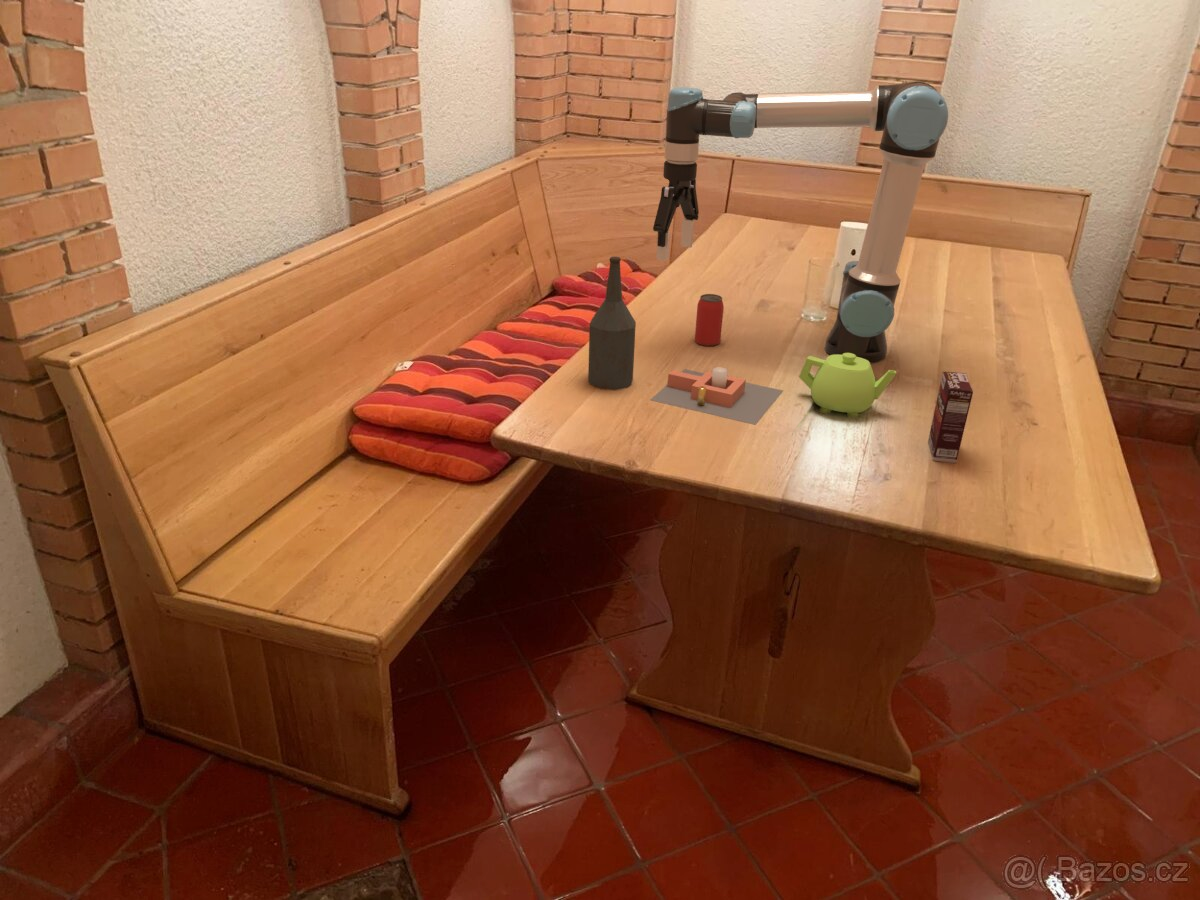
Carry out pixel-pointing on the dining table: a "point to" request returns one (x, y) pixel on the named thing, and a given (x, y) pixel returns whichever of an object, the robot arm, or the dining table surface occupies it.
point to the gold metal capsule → (701, 396)
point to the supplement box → (950, 417)
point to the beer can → (709, 320)
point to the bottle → (612, 338)
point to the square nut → (708, 387)
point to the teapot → (844, 383)
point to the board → (743, 409)
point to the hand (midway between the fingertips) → (674, 253)
